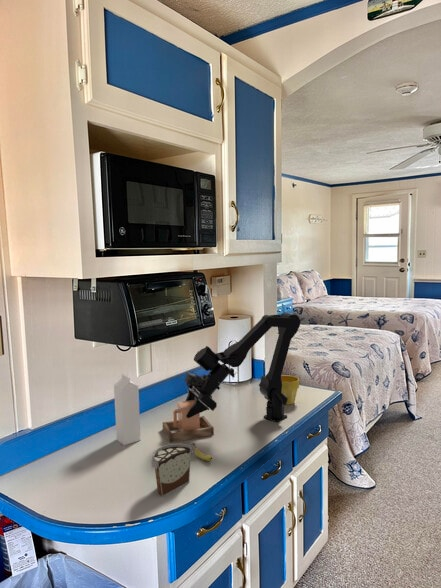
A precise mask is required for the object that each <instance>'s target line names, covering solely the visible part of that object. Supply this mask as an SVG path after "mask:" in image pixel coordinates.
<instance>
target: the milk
mask: <svg viewBox="0 0 441 588" xmlns="http://www.w3.org/2000/svg"><path fill="white" fill-rule="evenodd" d="M113 389H114V390H113V394H114V413H115V416H114V417H115V431H116V432H115V434H116V435H115V436H116V441H118V442H119V443H120V444H121V445H123V446H127V445H131V444H133V443H136V442H140V441H141V439H142V438H141V421H140V419H141V418H140V398H139V397H140V396H139V395H140V393H139V385H138V384H136V383H135V382H133V381H131V378H130V377H129V376H128V375H126V374H123V373H121V378H120V379H119V380H118V381H117V382H115V383H114V384H113Z"/></svg>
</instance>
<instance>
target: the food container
mask: <svg viewBox="0 0 441 588" xmlns="http://www.w3.org/2000/svg"><path fill="white" fill-rule="evenodd" d="M192 453H193V448H192V445H190V444H188V443H187V444H185V443H170V444H166V445H162V446H160V447H158V448H157V449H156V450H154V452H153V455H152V458H151V466H152V467H153V468H154V473H155V481H156V489H157V493H158V495H159V496H160V497H161V498H163V497H165V496H166V495H169V494H170V493H172V492H174V491H176V490H177V489H180V488H181V487H183V486H185V485H187V484H189V483H190V479H191V478H190V476H191V456H192V455H191V454H192Z"/></svg>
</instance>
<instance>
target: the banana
mask: <svg viewBox="0 0 441 588" xmlns="http://www.w3.org/2000/svg"><path fill="white" fill-rule="evenodd" d="M191 446H193V448H194V455H196V457H198V458H199V459H201V460H203V461H205V462H206V461H207V462H211V461H212V460H213V456H212V455H208V454H206V453H203V452H201V450H199V449H198V448H197V446H196V443H194V442H193V443H192V445H191Z"/></svg>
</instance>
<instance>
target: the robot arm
mask: <svg viewBox="0 0 441 588" xmlns="http://www.w3.org/2000/svg"><path fill="white" fill-rule="evenodd" d="M300 326H301V318H300V317H299V315H297V314H295V313H291V312H283V313H281V314H269V315H268V314H264V315H263V316H262V317H261V319H260V320H259V321H257V323H256V324H255V325H254V326H253V327H251V329H250V330H249V331H247V333H246V334H245V335H244V336H243V337H242V338H241V339H240V340H239V341H237V342H235V343H233V344H231V345H230V346H228V347H227V348H225V349H224V350H223V351H220V352H217V353H216V352H214V351H213V350H212V348H210V347H209V346H208V345H206V346H205V347H204V348H202V349H200V350H198V351H197V352H196V354H195V355H194V357H193V361H194V362H195V363H196V364H197V365H198V366H199V367H201V368H202V369H203V370H204V371H208V373H207V374H203V375H202V376H201V375H198V374H194V373H192V372H187V373H186V376H185V378H184V379H183V380H184V382H185V385H186V386H187V387H186V390H187V396H186V398H185V401H189V400H195V403H194V404H193V406H192V407H191V409H190V410H189V412H188V414H187V415H186V417H187V418H190V417H192V416H194V415H196V414H198V413H199V414H201V413H203V412H205V411H209V410H210V411H212V412H214V411H215V409H216V408H217V405H218V403H217V402H216V401H215V399H213V394H214V393H215V391H219V390H220V389H221V387H220V386H221V384H222V383H223V382H224V381H225V380H226V378H228V376H231V377H232V378H235V377H236V376H235V375H236V374H235V368H239V367H240V366H241V365H242V364H243V363H244V361H245V359H246V358H247V355H248V354H249V352H250V349H252V348H253V347H254V346H255V345H256V343H258V342H259V340H261V338H262V337H264V335H265V334H267V332H269V330H270V329H271V328H277V333H278V337H277V340H276V344H275V346H274V352H273V355H272V358H271V362H270V366H269V369H268V373H267V374H266V375H261V377H260V381H259V384H258V387H259V392H260V394H262V396H263V397H264V399H265V400H267V402H266V407H265V408H266V409H265V411H266V414H265V415H263V418H265V419H267V420H270V421H274V422H276V423H277V422H280V421H282V420H284V419H286V418H288V415H287V414H285V404H286V403H287V400H288V398H287V397H285V396H284V395H283V394H282V393H281V392H282V380H281V375H283V371H284V368H285V363H286V360H287V357H288V353H289V348H290V346H291V341H292V339H293V338H294V337H295V336H296V334H298V333H297V332H298V331H299V328H300ZM220 362H221V363H220ZM229 366H230V367H229Z"/></svg>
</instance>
